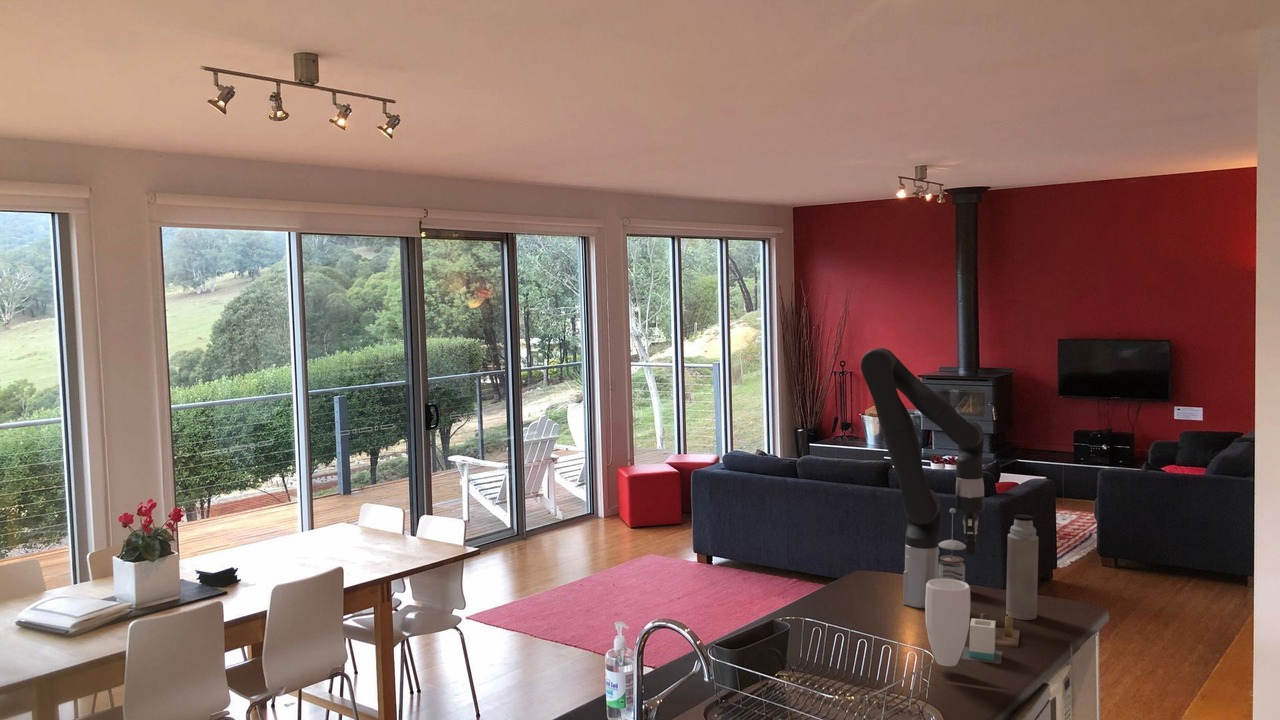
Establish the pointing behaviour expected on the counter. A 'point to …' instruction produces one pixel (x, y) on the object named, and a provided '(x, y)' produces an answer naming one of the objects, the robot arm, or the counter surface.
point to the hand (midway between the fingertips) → (971, 550)
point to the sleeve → (982, 639)
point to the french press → (951, 559)
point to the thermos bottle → (1022, 569)
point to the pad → (996, 659)
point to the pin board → (1005, 639)
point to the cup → (947, 618)
